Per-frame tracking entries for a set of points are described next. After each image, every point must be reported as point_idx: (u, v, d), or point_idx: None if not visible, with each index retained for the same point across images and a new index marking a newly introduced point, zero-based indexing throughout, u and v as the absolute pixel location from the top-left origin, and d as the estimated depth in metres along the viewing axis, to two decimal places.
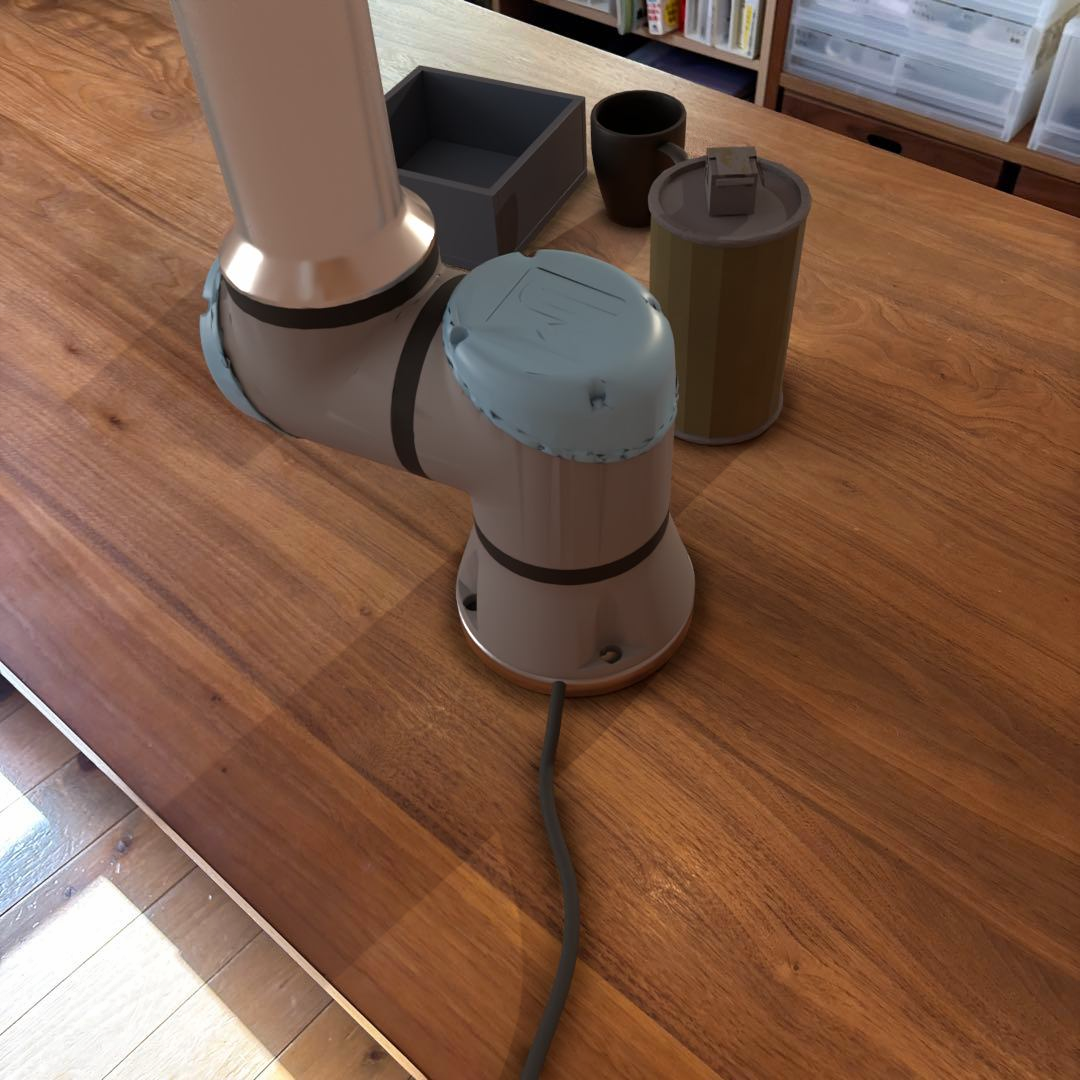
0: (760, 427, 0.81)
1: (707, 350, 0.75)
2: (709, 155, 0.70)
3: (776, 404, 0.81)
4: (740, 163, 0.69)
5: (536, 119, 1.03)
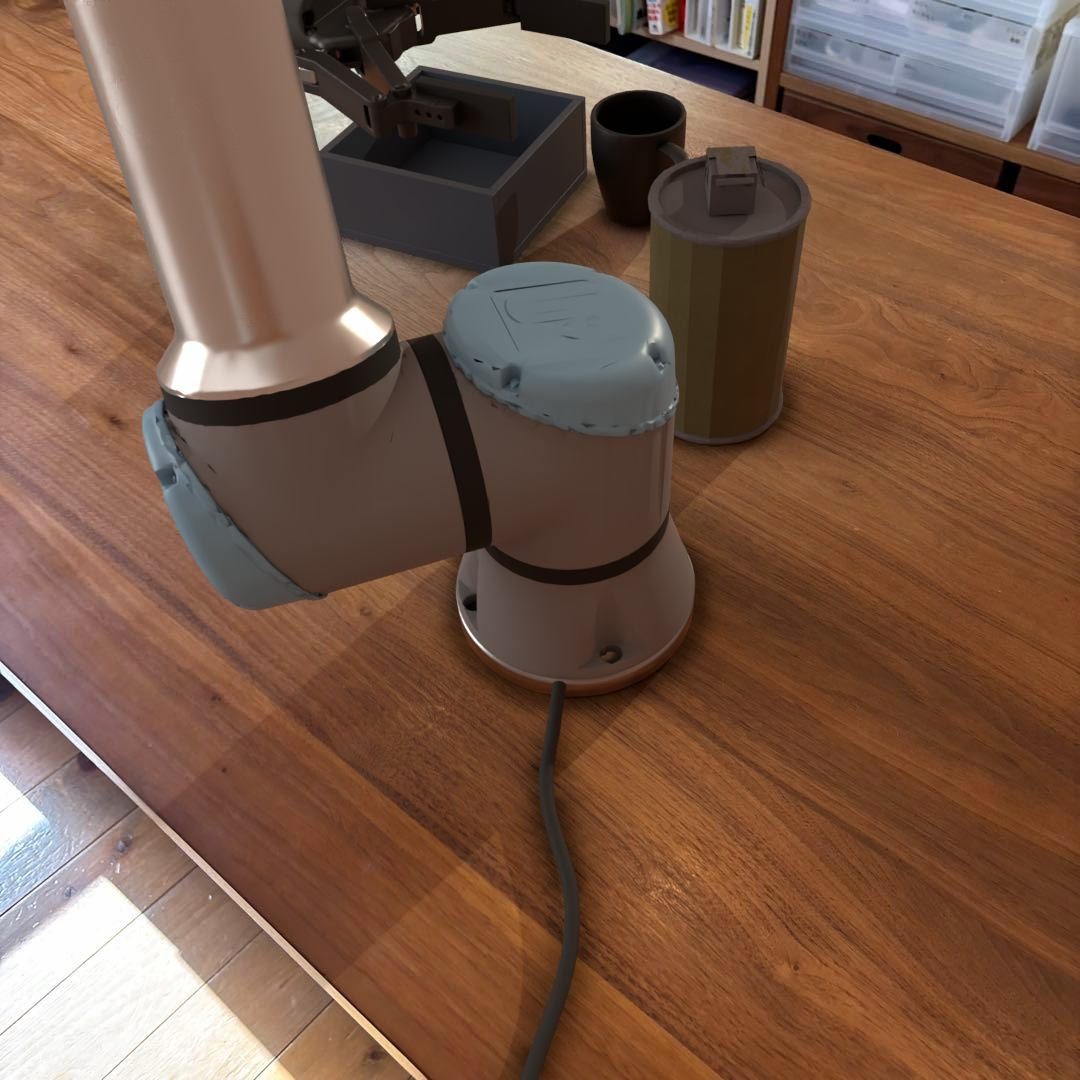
0: (760, 427, 0.81)
1: (706, 350, 0.75)
2: (709, 155, 0.70)
3: (776, 404, 0.81)
4: (740, 163, 0.69)
5: (536, 119, 1.03)
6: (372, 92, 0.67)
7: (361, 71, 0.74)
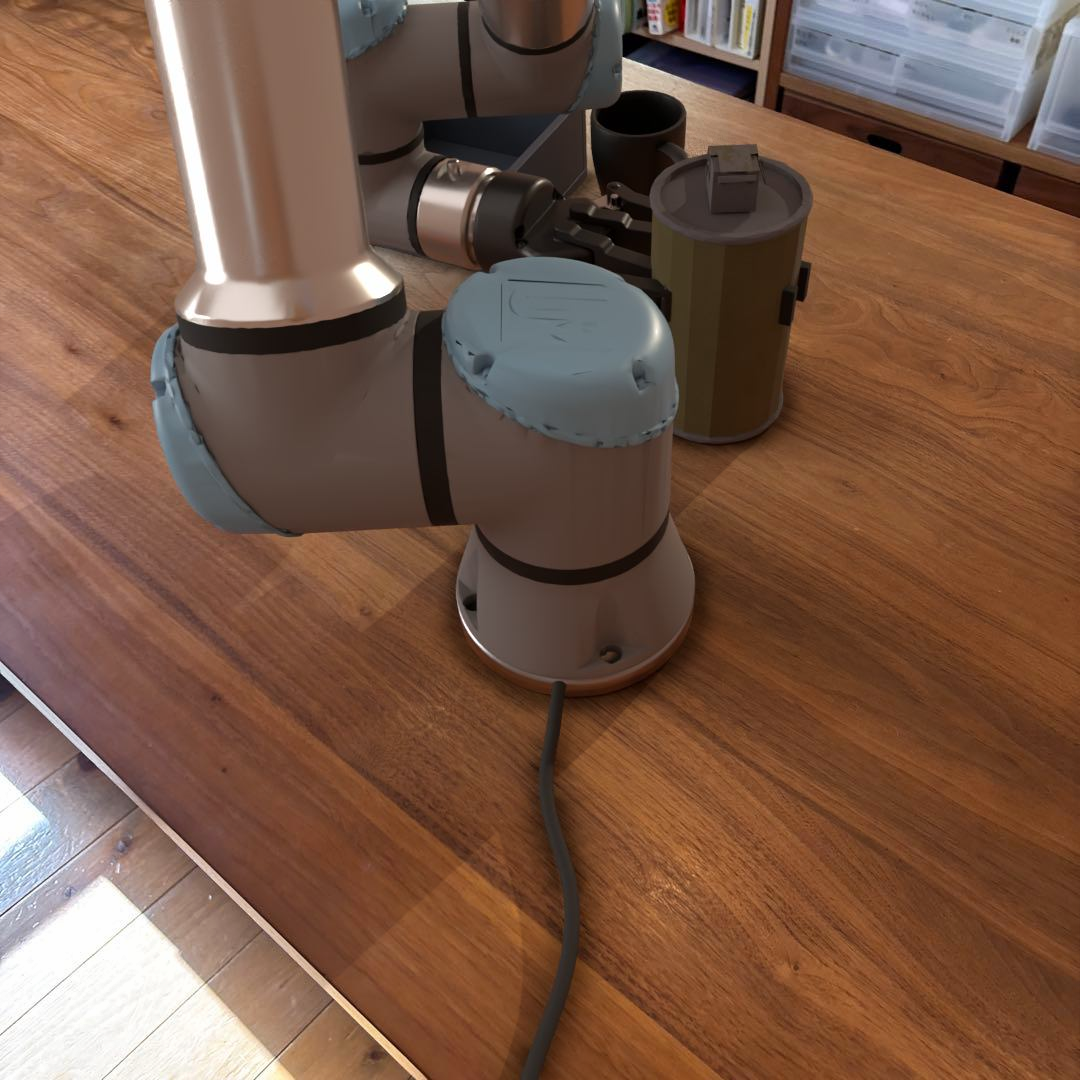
0: (760, 426, 0.81)
1: (707, 348, 0.75)
2: (711, 152, 0.70)
3: (776, 403, 0.81)
4: (742, 161, 0.69)
5: (536, 119, 1.03)
6: (659, 284, 0.74)
7: None
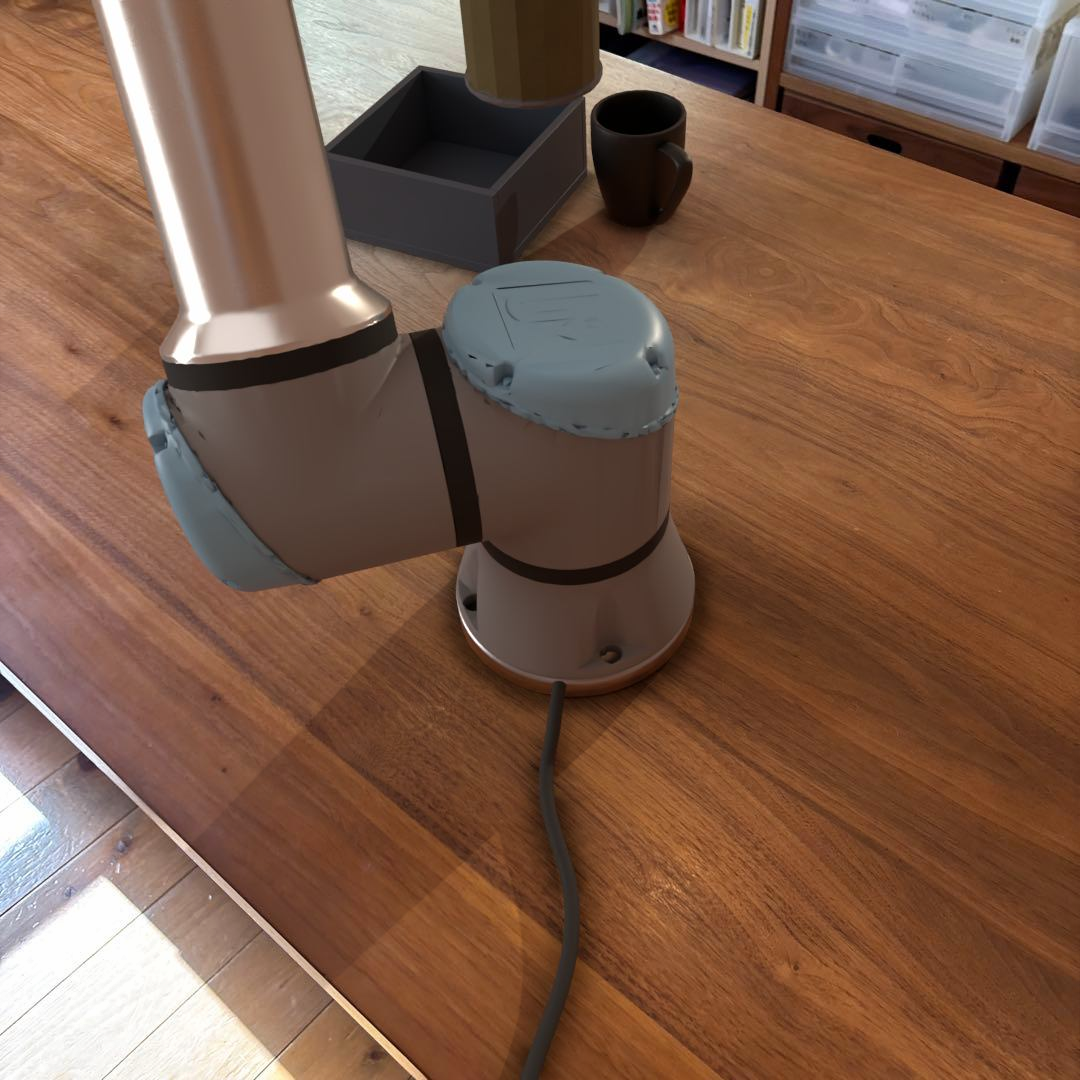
0: (574, 92, 0.80)
1: None
2: None
3: (591, 70, 0.81)
4: None
5: (536, 119, 1.03)
6: None
7: None
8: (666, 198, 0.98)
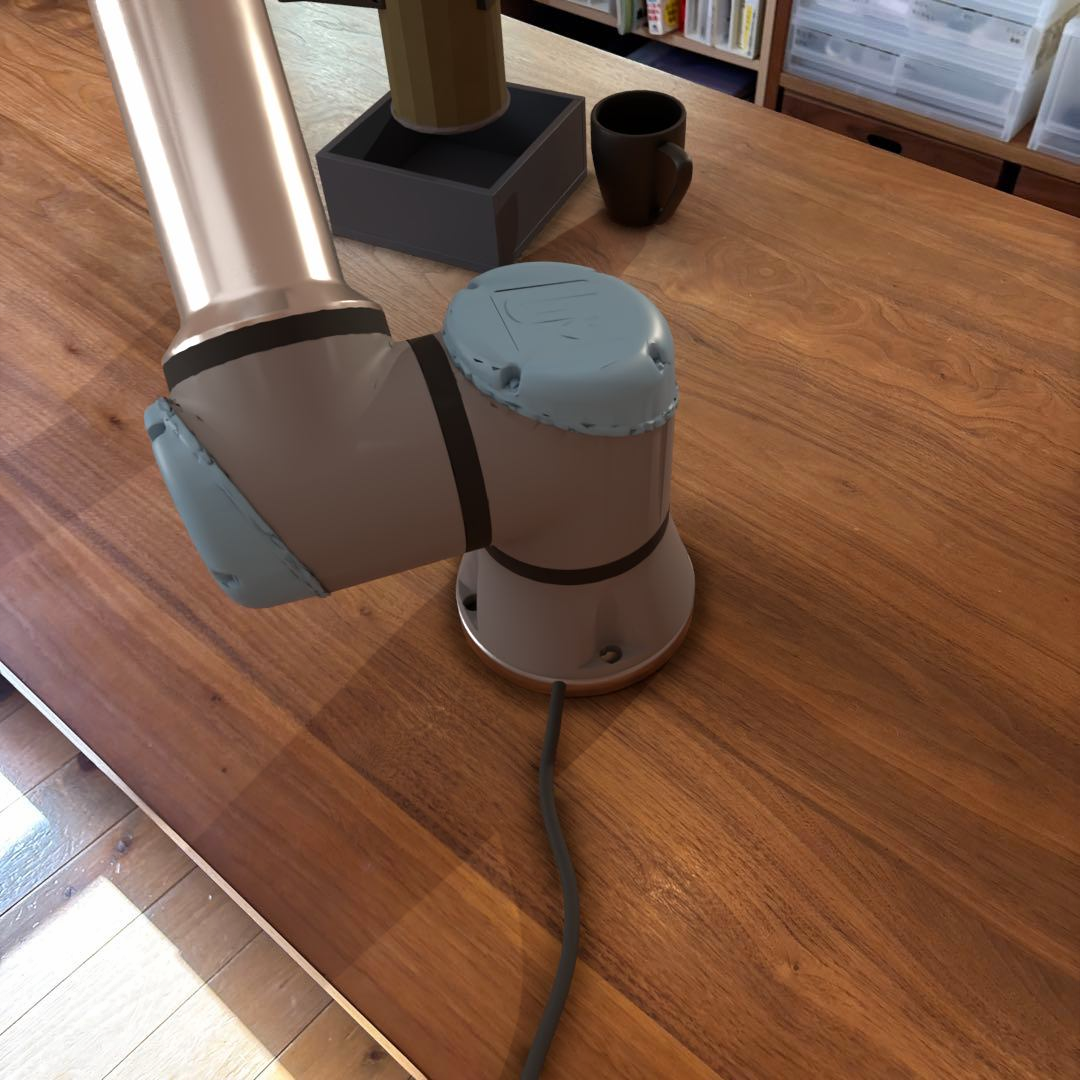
0: (483, 119, 0.93)
1: (418, 31, 0.87)
2: None
3: (498, 100, 0.94)
4: None
5: (536, 119, 1.03)
6: None
7: None
8: (666, 198, 0.98)
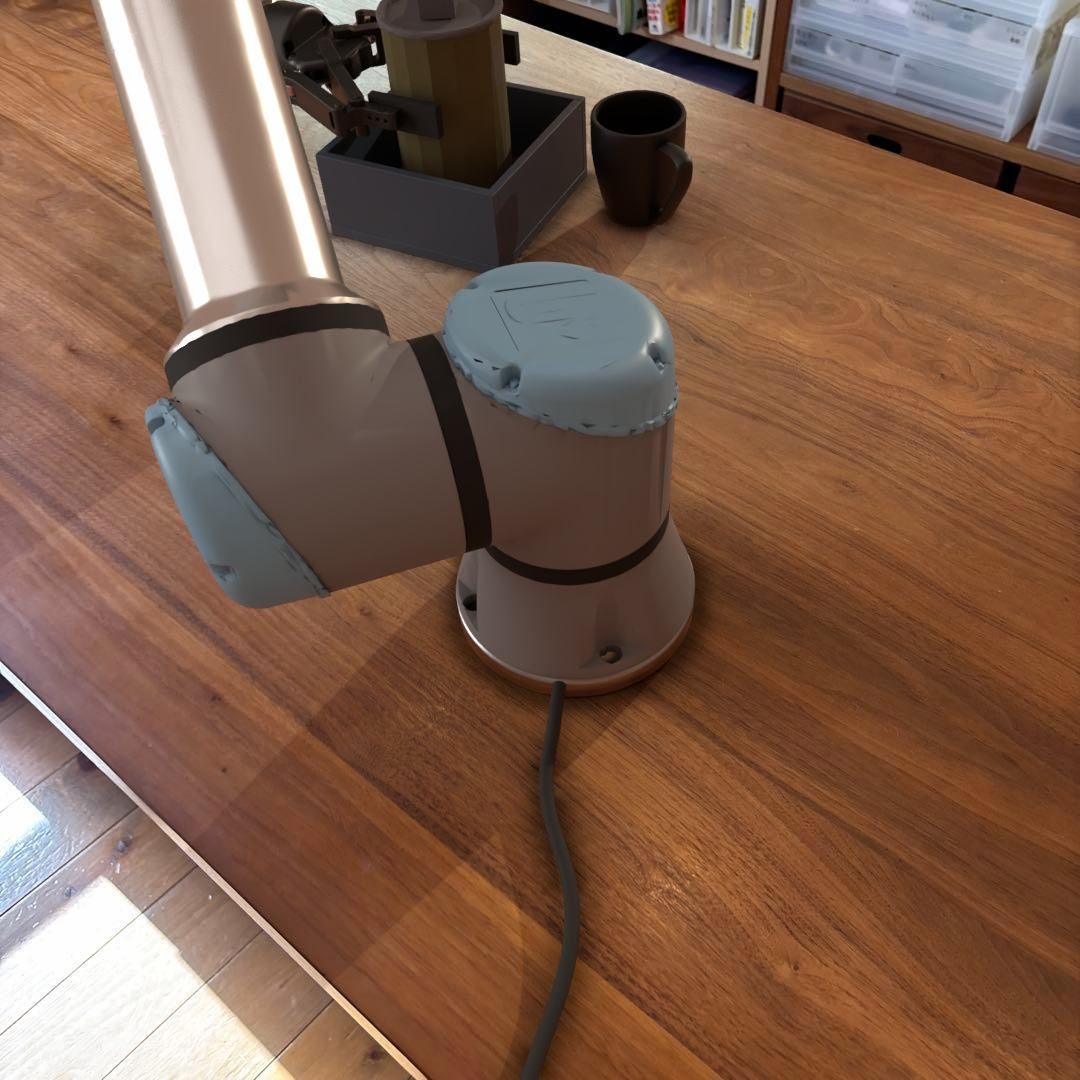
0: None
1: None
2: None
3: None
4: None
5: (536, 119, 1.03)
6: (335, 102, 0.90)
7: (329, 86, 0.97)
8: (666, 198, 0.98)
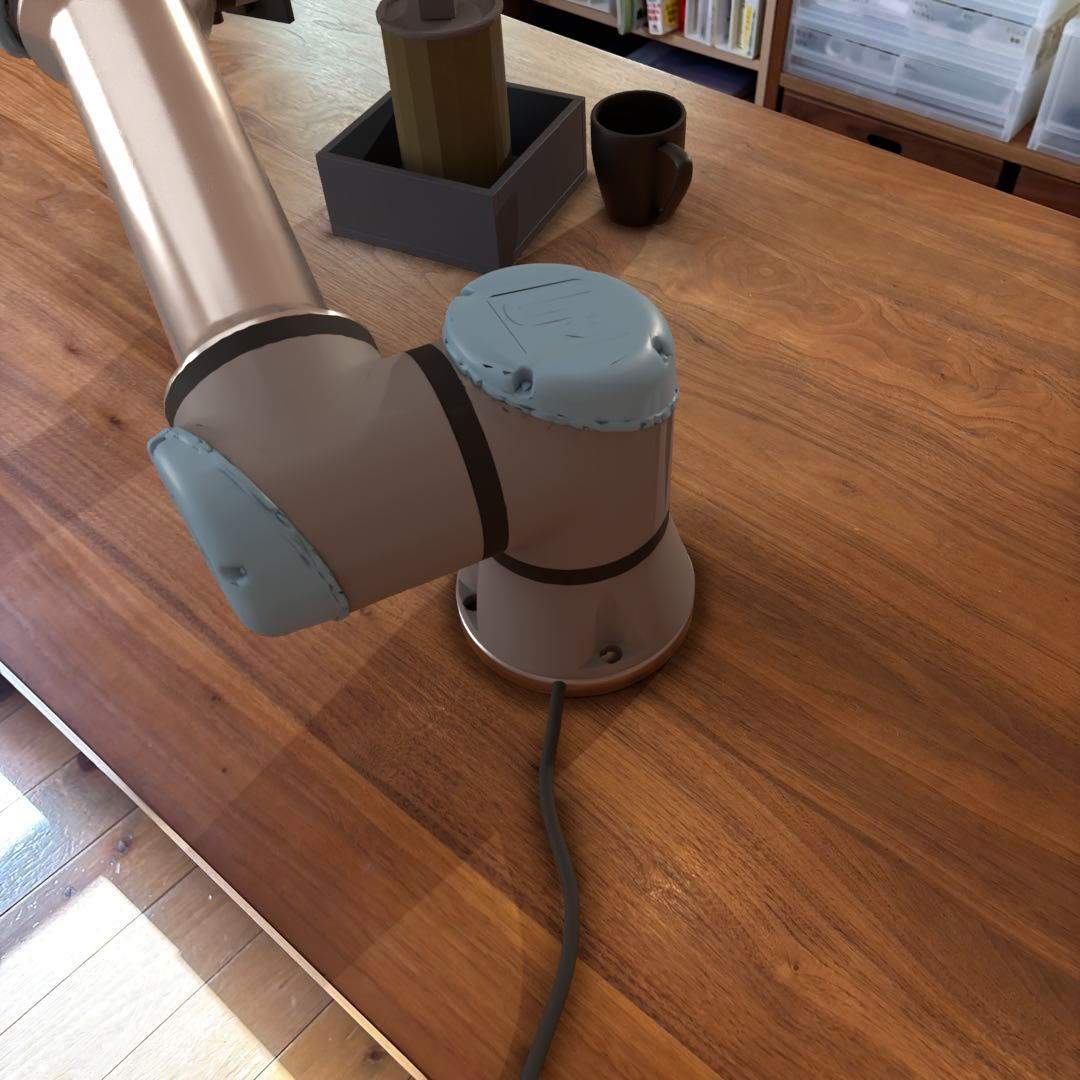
0: None
1: (432, 136, 0.94)
2: None
3: None
4: None
5: (536, 119, 1.03)
6: None
7: None
8: (666, 198, 0.98)
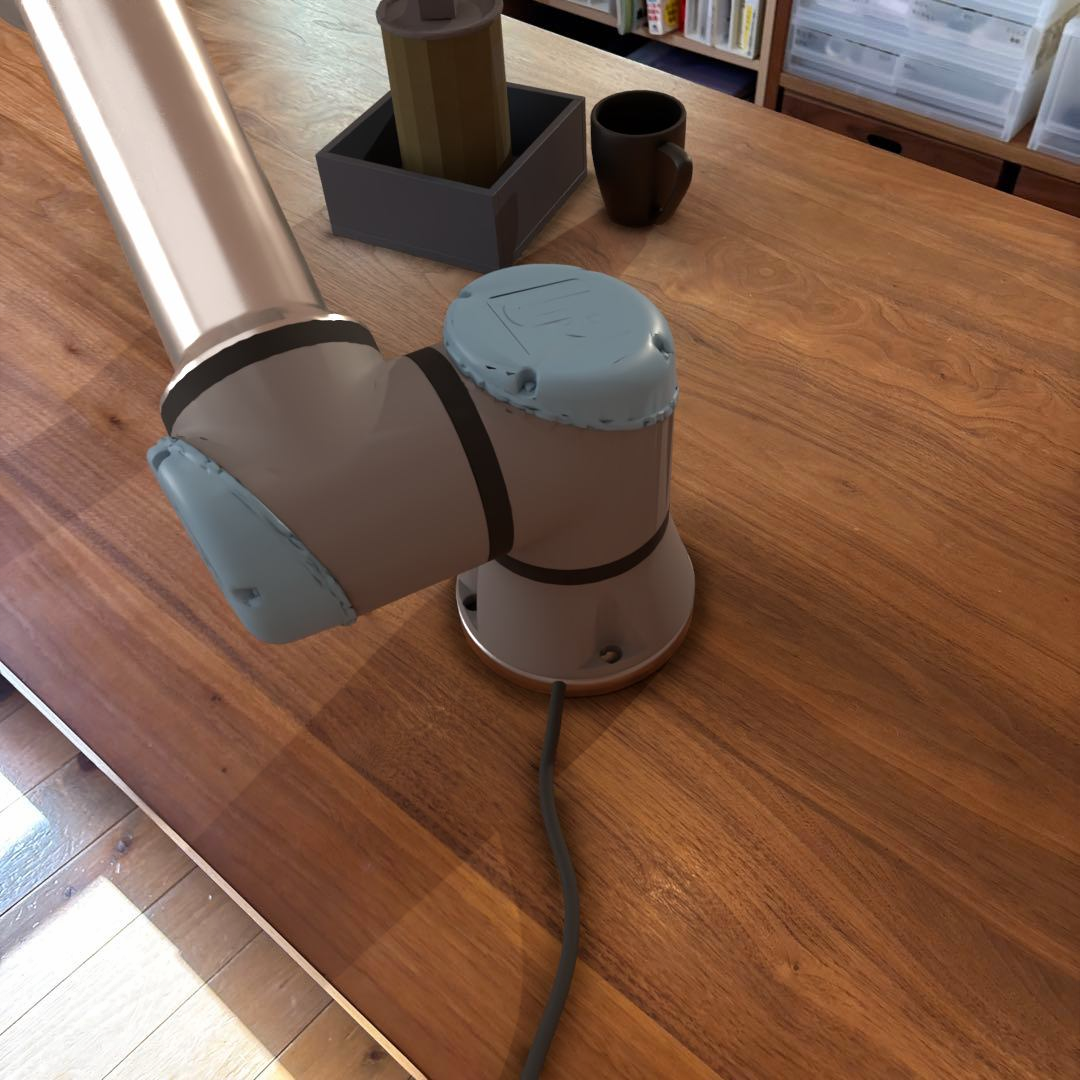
0: None
1: (432, 136, 0.94)
2: None
3: None
4: None
5: (536, 119, 1.03)
6: None
7: None
8: (666, 198, 0.98)
